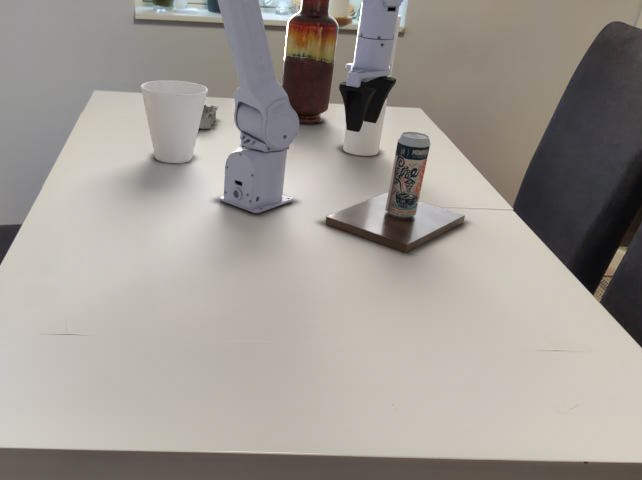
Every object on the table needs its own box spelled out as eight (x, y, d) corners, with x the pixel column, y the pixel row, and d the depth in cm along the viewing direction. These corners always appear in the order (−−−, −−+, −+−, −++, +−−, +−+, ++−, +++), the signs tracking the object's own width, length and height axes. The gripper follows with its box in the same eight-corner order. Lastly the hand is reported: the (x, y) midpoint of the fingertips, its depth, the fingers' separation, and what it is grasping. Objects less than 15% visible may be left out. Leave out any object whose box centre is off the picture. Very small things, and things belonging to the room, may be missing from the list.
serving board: (405, 252, 100) (407, 244, 99) (325, 223, 107) (326, 216, 106) (463, 222, 111) (465, 215, 111) (387, 198, 119) (388, 191, 118)
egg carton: (187, 116, 158) (187, 96, 156) (219, 119, 157) (220, 100, 155) (174, 127, 149) (175, 106, 147) (209, 130, 148) (210, 110, 146)
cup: (162, 170, 124) (162, 96, 117) (129, 152, 131) (128, 82, 125) (218, 162, 130) (221, 91, 123) (183, 145, 138) (184, 78, 131)
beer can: (387, 218, 107) (401, 138, 101) (382, 207, 111) (396, 130, 105) (418, 220, 107) (435, 141, 101) (412, 209, 111) (428, 132, 105)
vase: (272, 113, 165) (282, -13, 151) (315, 112, 168) (330, -11, 154) (288, 125, 156) (301, -7, 142) (334, 124, 160) (351, -5, 146)
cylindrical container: (377, 147, 146) (399, 13, 132) (379, 157, 140) (403, 17, 126) (342, 144, 146) (361, 10, 133) (343, 153, 140) (363, 14, 127)
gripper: (368, 29, 117) (355, 114, 124) (333, 37, 106) (321, 130, 113) (409, 35, 114) (393, 121, 121) (377, 44, 103) (363, 138, 110)
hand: (361, 126), depth 117 cm, fingers open, 7 cm apart
